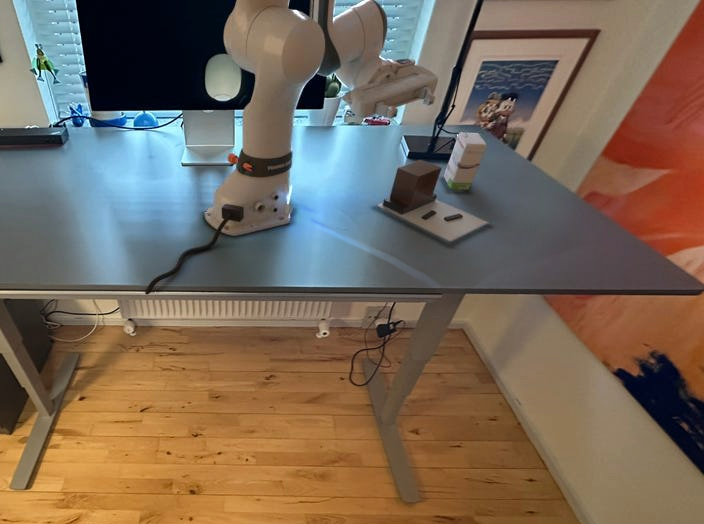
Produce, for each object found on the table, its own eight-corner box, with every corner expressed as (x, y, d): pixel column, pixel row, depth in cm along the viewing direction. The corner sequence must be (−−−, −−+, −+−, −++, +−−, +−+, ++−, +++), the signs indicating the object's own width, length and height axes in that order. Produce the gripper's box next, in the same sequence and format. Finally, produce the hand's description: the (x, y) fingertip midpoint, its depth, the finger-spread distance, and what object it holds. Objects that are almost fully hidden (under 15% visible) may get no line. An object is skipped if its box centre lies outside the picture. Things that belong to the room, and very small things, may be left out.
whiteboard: (448, 245, 89) (450, 241, 89) (375, 208, 102) (376, 205, 101) (487, 226, 94) (489, 222, 93) (413, 193, 107) (414, 189, 106)
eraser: (401, 215, 97) (412, 179, 91) (382, 205, 101) (391, 170, 94) (435, 200, 101) (447, 165, 95) (415, 192, 105) (426, 157, 99)
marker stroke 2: (447, 221, 94) (447, 219, 94) (443, 219, 95) (444, 217, 95) (462, 217, 95) (463, 215, 95) (458, 215, 96) (459, 213, 96)
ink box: (468, 193, 105) (488, 144, 97) (448, 192, 106) (466, 144, 98) (461, 179, 111) (479, 131, 103) (441, 178, 112) (458, 131, 103)
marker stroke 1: (425, 220, 95) (426, 218, 95) (421, 218, 96) (421, 216, 95) (435, 213, 97) (436, 211, 97) (431, 212, 98) (431, 210, 97)
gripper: (340, 81, 94) (374, 107, 87) (418, 55, 97) (457, 79, 89) (337, 109, 100) (369, 136, 92) (410, 85, 102) (447, 109, 95)
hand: (413, 108), depth 91 cm, fingers open, 8 cm apart
